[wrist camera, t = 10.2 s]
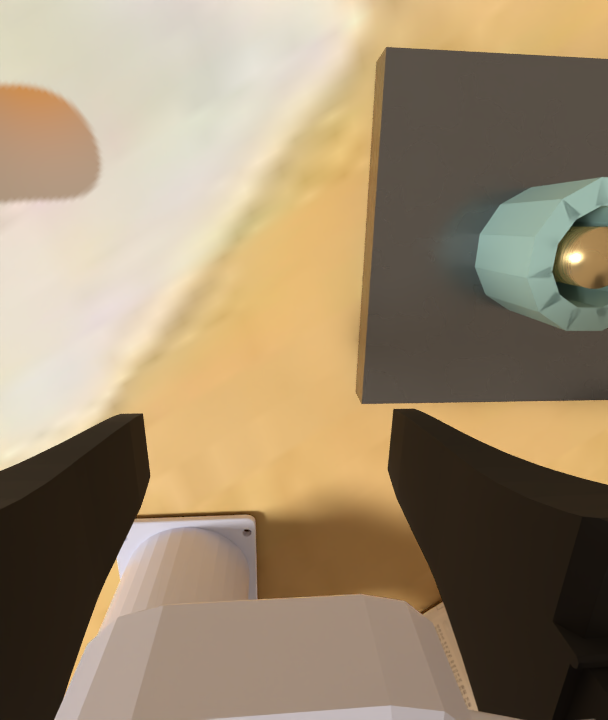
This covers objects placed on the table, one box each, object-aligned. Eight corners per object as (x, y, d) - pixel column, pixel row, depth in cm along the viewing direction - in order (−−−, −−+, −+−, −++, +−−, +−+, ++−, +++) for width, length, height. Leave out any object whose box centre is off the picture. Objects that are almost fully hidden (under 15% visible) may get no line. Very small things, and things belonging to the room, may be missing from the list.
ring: (604, 274, 19) (686, 286, 15) (499, 329, 20) (554, 355, 16) (573, 163, 17) (657, 146, 14) (459, 227, 18) (509, 228, 14)
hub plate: (616, 388, 23) (718, 437, 18) (355, 392, 22) (382, 444, 16) (705, 78, 18) (881, 19, 13) (376, 62, 17) (423, -11, 12)
